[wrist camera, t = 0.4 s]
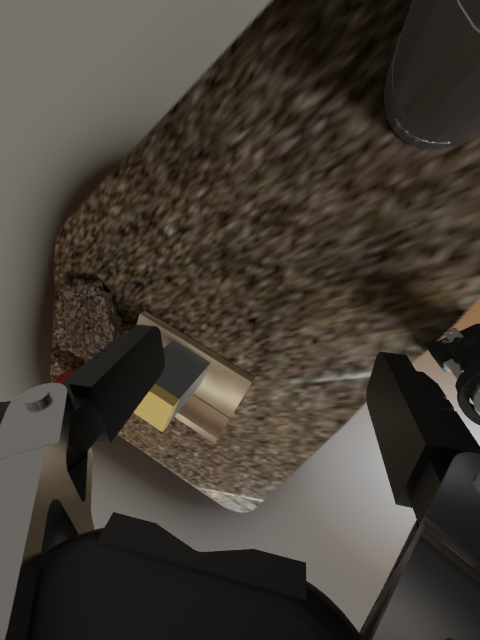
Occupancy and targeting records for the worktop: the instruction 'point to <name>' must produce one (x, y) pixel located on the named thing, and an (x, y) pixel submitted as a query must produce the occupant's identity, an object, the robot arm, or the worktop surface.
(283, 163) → the worktop surface
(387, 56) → the worktop surface
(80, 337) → the concrete sample
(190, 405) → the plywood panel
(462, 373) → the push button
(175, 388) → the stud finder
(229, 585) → the robot arm
